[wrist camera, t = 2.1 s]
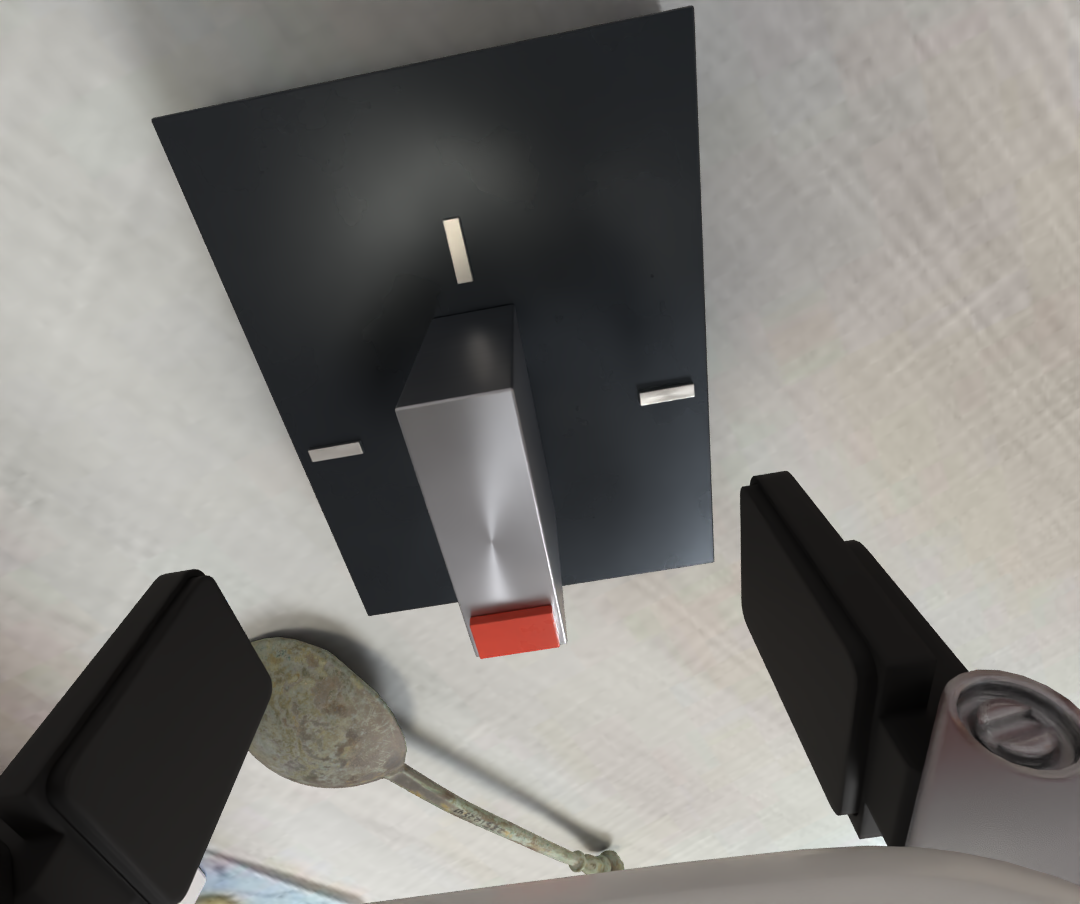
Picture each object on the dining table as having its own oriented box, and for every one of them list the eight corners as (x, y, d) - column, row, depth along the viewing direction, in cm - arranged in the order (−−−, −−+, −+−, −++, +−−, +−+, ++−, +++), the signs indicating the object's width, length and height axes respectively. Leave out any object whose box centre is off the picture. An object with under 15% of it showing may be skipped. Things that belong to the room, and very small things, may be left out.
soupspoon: (300, 588, 22) (207, 667, 25) (261, 660, 19) (159, 743, 22) (659, 833, 30) (562, 876, 32) (670, 912, 27) (562, 952, 29)
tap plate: (205, 118, 14) (145, 118, 12) (666, 22, 13) (696, 3, 11) (383, 564, 21) (367, 620, 19) (693, 515, 20) (716, 566, 18)
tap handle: (431, 318, 14) (390, 415, 10) (514, 303, 14) (512, 394, 9) (486, 519, 17) (475, 666, 12) (554, 508, 17) (568, 653, 12)
